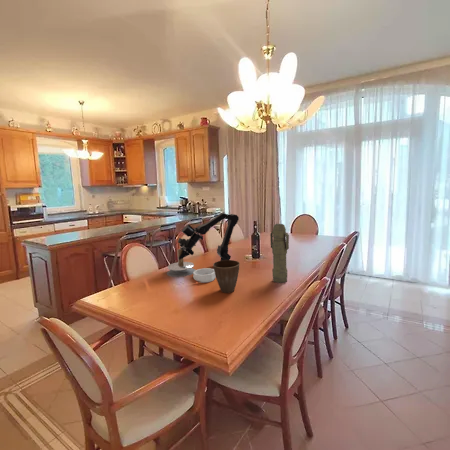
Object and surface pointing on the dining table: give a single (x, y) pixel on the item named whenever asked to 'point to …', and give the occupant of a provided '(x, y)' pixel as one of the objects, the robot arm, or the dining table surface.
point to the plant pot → (226, 274)
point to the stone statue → (279, 252)
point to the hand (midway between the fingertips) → (178, 258)
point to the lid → (180, 263)
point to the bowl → (204, 278)
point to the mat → (180, 273)
